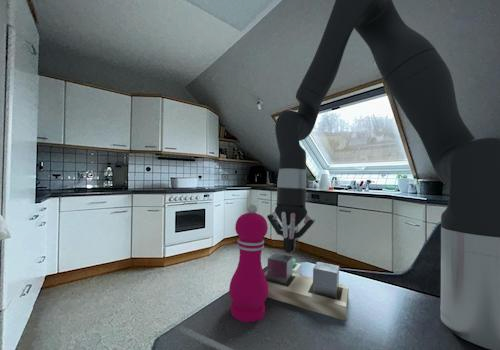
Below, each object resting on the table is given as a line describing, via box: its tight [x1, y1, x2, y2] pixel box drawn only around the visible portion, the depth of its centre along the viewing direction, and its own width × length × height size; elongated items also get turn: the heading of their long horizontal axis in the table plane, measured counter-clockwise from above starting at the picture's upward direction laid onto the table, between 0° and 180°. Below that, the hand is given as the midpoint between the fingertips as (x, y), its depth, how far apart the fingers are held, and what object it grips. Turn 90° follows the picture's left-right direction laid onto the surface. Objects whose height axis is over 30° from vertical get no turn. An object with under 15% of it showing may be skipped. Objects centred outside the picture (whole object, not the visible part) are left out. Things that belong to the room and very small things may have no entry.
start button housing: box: [292, 262, 302, 275], centre depth 56 cm, size 5×5×3 cm
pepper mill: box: [228, 204, 269, 323], centre depth 40 cm, size 7×7×20 cm
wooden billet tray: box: [264, 270, 350, 322], centre depth 46 cm, size 18×9×3 cm, turn 63°
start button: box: [292, 258, 297, 269], centre depth 56 cm, size 3×3×2 cm
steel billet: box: [266, 252, 294, 287], centre depth 48 cm, size 4×4×7 cm
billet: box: [312, 261, 340, 300], centre depth 44 cm, size 4×4×7 cm
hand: (289, 252), depth 57 cm, fingers closed
